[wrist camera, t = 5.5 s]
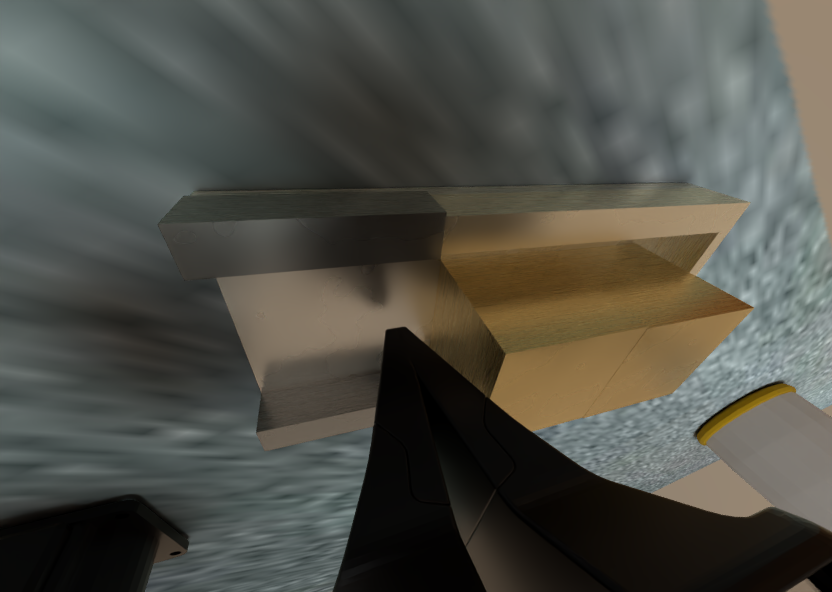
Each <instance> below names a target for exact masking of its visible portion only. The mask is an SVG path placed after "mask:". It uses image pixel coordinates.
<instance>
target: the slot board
mask: <svg viewBox="0 0 832 592" xmlns="http://www.w3.org/2000/svg"><path fill="white" fill-rule="evenodd" d="M749 204H750V202H747V201H744V200H741V199H738V198H734V197H731V196H728V195H725V194H722V193H718V192H715V191H712V190H709V189H706V188H702V187H699V186H696V185H693V184H690V183H649V184H592V185H534V186H477V187H419V188H362V189H304V190H247V191H193V193H192V194H191V195H190V196H183V197H182V198H181V199H180V200H179V201H178V203H177V204H176V205H175V206H174V207H173V208H172V209H171V210H170V211H169V212H168V213H167V214H166V215H165V217H164V218H163V219H162V220H161V221H160V222H159V223H158V227H159V229H160V231H161V233H162V235H163V237H164V239H165V241H166V243H167V246H168V248H169V250H170V252H171V254H172V256H173V258H174V260H175V262H176V265H177V267H178V269H179V271H180V273H181V275H182V277H183V279H184V281H185V280H197V279H209V278H216V279H217V281H218V284H219V287H220V289H221V292H222V294H223V297H224V299H225V302H226V304H227V307H228V309H229V312H230V314H231V317H232V320H233V322H234V325H235V327H236V330H237V332H238V335H239V337H240V340H241V342H242V345H243V348H244V350H245V353H246V355H247V358H248V360H249V363H250V365H251V368H252V370H253V373H254V375H255V378H256V381H257V383H258V386H259V388H260V391H261V400H260V408H259V415H258V422H257V430H256V434H257V436H258V438H259V440H260V442H261V444H262V446H263V448H264V451H268V450H273V449H277V448H281V447H286V446H290V445H294V444H299V443H303V442H307V441H312V440H316V439H320V438H325V437H329V436H334V435H338V434H342V433H347V432H351V431H355V430H360V429H364V428H368V427H373V426H374V419H375V411H376V403H377V394H378V386H379V378H380V370H381V362H382V354H383V346H384V338H385V331H386V329H391V328H397V327H407V328H408V329H409V330H410V331H411V332H413V333H414V334H415V335H416V336H417V337H418V338H419V339H421V340H422V341H423V342H424V343H425V344H426V345H428V346H430V339H431V331H432V324H433V316H434V308H435V301H436V293H437V286H438V278H439V271H440V263H441V260H447V259H458V258H469V257H479V256H490V255H501V254H512V253H523V252H534V251H545V250H549V251H559V250H570V249H581V248H591V247H602V246H612V245H623V244H633V243H636V244H638V245H640V246H642V247H643V248H645V249H647V250H649V251H651V252H653V253H655V254H656V255H658V256H660V257H662V258H664V259H666V260H667V261H669V262H671V263H673V264H675V265H677V266H678V267H680V268H682V269H684V270H686V271H688V272H689V273H691V274H693V275H695V276H696V275H697V274H698V272H699V271H700V270H701V268H702V267H703V266H704V264H705V263H706V262H707V260H708V259H709V258H710V256H711V255H712V254H713V252H714V251H715V250H716V248H717V247H718V246H719V244H720V243H721V242H722V240H723V239H724V238H725V236H726V235H727V234H728V232H729V231H730V230H731V228H732V227H733V226H734V224H735V223H736V222H737V220H738V219H739V218H740V216H741V215H742V214H743V212H744V211H745V210H746V208H747V207H748V206H749Z"/></svg>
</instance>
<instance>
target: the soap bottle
mask: <svg viewBox="0 0 832 592" xmlns="http://www.w3.org/2000/svg"><path fill="white" fill-rule="evenodd" d="M795 392H796V389H795V388H794V387H792V386H790V385H787V384H783V383H781V384H776V385H772V386H769V387H765V388H762V389H760V390H758V391H756V392H754V393H752V394H749V395H747V396H746V397H744V398H742V399H740V400H739V401H737V402H735V403H733V404H732V405H730V406H729V407H727V408H726V409H724V410H723V411H721V412H720V413H718V414H717V415H715V416H714V417H713V418H712V419H711V420H709V421H708V422H707V423H706V424H705V425H704V426H703V427H702V428H701V430H700V431H699V433H698V434H697V439H698V441H699V443H700V444H702V445H707V446H708V447H709V448H710V449H711V450H712V451H713V452H714V453H715V454H716V455H717V456H719V457H720V458H721V459H722V460H723V461H724V462H725V463H726V464H727V465H728V466H729V467H730V468H731V469H732V470H733V471H734V472H736V473H737V474H738V475H739V476H740V477H741V478H742V479H744V480H745V481H746V482H747V483H748V484H749V485H751V486H752V487H753V488H754V489H755V490H757V492H759V493H760V494H761V495H762V496H763V497H764V498H765V499H767V500H768V501H769V502H770V503H771V504H772V505H774V506H775V507H776V508H779V509H781V510H784V511H786V512H789V513H792V514H794V515H797V516H800V517H802V518H805V519H807V520H810V521H812V522H814V523H816V524H818V525H820V526H822V527H824V528H826V529H828V530H830V531H831V532H832V417H831V416H829V415H828V414H826V413H824V412H823V411H822V410H820V409H819V408H817V407H816V406H814V405H813V404H811V403H810V402H808V401H807V400H805V399H804V398H802V397H801V396H799V395H798V394H796V393H795Z"/></svg>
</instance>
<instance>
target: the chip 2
mask: <svg viewBox="0 0 832 592" xmlns="http://www.w3.org/2000/svg"><path fill="white" fill-rule="evenodd" d="M550 252H552V253H553V254H554V255H555V256H557V257H558V258H559V259H561V260H562V261H563V262H565V263H566V264H567V265H569V266H570V267H571V268H572V269H574V270H575V271H576V272H578V273H579V274H580V275H582V276H583V277H584V278H585V279H587V280H588V281H589V282H591V283H592V284H593V285H595V286H596V287H597V288H599V289H600V290H601V291H602V292H604V293H605V294H606V295H608V296H609V297H610V298H612V299H613V300H614V301H616V302H617V303H618V304H619V305H621V306H622V307H623V308H625V309H626V310H627V311H629V312H630V313H631V314H633V315H634V316H635V317H636V318H638V319H639V320H640V321H642V322H643V323H644V324H646V325H647V326H648V328H647V329H646V331H645V332H644V334H643V335H642V336H641V338H640V339H639V341H638V342H637V343H636V345H635V346H634V348H633V349H632V350H631V352H630V353H629V355H628V356H627V357H626V359H625V360H624V361H623V363H622V364H621V366H620V367H619V368H618V370H617V371H616V373H615V374H614V375H613V377H612V378H611V380H610V381H609V382H608V384H607V385H606V387H605V388H604V389H603V391H602V392H601V393H600V395H599V396H598V398H597V399H596V400H595V402H594V403H593V405H592V406H591V407H590V409H589V410H588V412H587V413H586V414H585V416H584V417H582V418H585V417H589V416H593V415H596V414H600V413H603V412H607V411H611V410H614V409H618V408H621V407H625V406H628V405H632V404H636V403H639V402H643V401H646V400H650V399H654V398H657V397H661V396H664V395H668V394H672V393H673V392H674V391H675V390H676V389H677V388H678V387H679V386H680V385H681V384H682V383H683V382H684V381H685V380H686V379H687V378H688V376H689V375H690V374H691V373H692V372H693V371H694V370H695V369H696V368H697V367H698V366H699V365H700V364H701V363H702V362H703V361H704V360H705V359H706V358H707V357H708V356H709V355H710V354H711V352H712V351H713V350H714V349H715V348H716V347H717V346H718V345H719V344H720V343H721V342H722V341H723V340H724V339H725V338H726V337H727V336H728V335H729V334H730V333H731V332H732V331H733V329H734V328H735V327H736V326H737V325H738V324H739V323H740V322H741V321H742V320H743V319H744V318H745V317H746V316H747V315H748V314H749V313H750V312H751V311H752V310H753V309H754V307H752V306H750V305H748V304H747V303H745V302H743V301H741V300H739V299H737V298H735V297H734V296H732V295H730V294H728V293H726V292H724V291H723V290H721V289H719V288H717V287H715V286H713V285H712V284H710V283H708V282H706V281H704V280H702V279H701V278H699V277H697V276H695V275H693V274H691V273H689V272H688V271H686V270H684V269H682V268H680V267H678V266H677V265H675V264H673V263H671V262H669V261H667V260H666V259H664V258H662V257H660V256H658V255H656V254H655V253H653V252H651V251H649V250H647V249H645V248H643V247H642V246H640V245H638V244H636V243H633V244H623V245H612V246H602V247H591V248H581V249H570V250H559V251H550Z"/></svg>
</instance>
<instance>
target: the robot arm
mask: <svg viewBox="0 0 832 592" xmlns="http://www.w3.org/2000/svg"><path fill="white" fill-rule="evenodd" d="M485 397H486V396H485V394H484V393H482V392H481V391H480V390H479V389H478V388H477V387H475V386H474V385H473V384H472V383H471V382H470V381H468V380H467V379H466V378H465V377H464V376H463V375H461V374H460V373H459V372H458V371H457V370H456V369H454V368H453V367H452V366H451V365H450V364H449V363H447V362H446V361H445V360H444V359H443V358H442V357H440V356H439V355H438V354H437V353H436V352H435V351H433V350H432V349H431V348H430V347H429V346H428V345H426V344H425V343H424V342H423V341H422V340H421V339H419V338H418V337H417V336H416V335H415V334H414V333H413V332H411V331H410V330H409V329H408V328H407V327H397V328H391V329H386V331H385V338H384V346H383V354H382V362H381V370H380V378H379V386H378V394H377V403H376V411H375V419H374V426H373V434H372V441H371V447H370V454H369V460H368V464H367V468H366V473H365V477H364V481H363V485H362V489H361V493H360V497H359V501H358V504H357V508H356V512H355V516H354V520H353V523H352V527H351V531H350V535H349V539H348V542H347V546H346V550H345V553H344V557H343V560H342V564H341V567H340V570H339V574H338V577H337V580H336V583H335V586H334V589H333V592H832V532H831V531H830V530H828V529H826V528H824V527H822V526H820V525H818V524H816V523H814V522H812V521H810V520H807V519H805V518H802V517H800V516H797V515H794V514H792V513H789V512H786V511H784V510H781V509H779V508H776V507H768V508H766V509H763V510H762V511H759V512H758V513H755V514H753V515H751V516H749V517H732V516H726V515H721V514H717V513H713V512H709V511H705V510H702V509H699V508H696V507H693V506H690V505H686V504H683V503H680V502H677V501H674V500H670V499H667V498H664V497H661V496H658V495H654V494H651V493H648V492H645V491H642V490H638V489H635V488H632V487H629V486H625V485H622V484H619V483H616V482H613V481H610V480H607V479H605V478H602V477H600V476H598V475H596V474H594V473H592V472H590V471H588V470H586V469H585V468H583V467H581V466H580V465H578V464H577V463H575V462H574V461H572V460H571V459H570V458H568V457H567V456H565V455H564V454H562V453H561V452H560V451H558V450H557V449H555V448H554V447H553V446H551V445H550V444H548V443H547V442H545V441H544V440H543V439H541V438H540V437H538V436H537V435H536V434H534V433H533V432H531V431H530V430H529V429H527V428H526V427H525V426H523V425H522V424H521V423H519V422H518V421H516V420H515V419H514V418H512V417H511V416H510V415H509V414H508V413H506V412H505V411H504V410H503V409H501V408H500V407H499V406H498V405H497V404H495V403H494V402H493V401H492V400H491V399H490V398H488V397H486V398H485ZM188 546H189V541H188V540H187V539H185V538H184V537H183V536H182V535H180V534H179V533H178V532H177V531H175V530H174V529H173V528H172V527H171V526H169V525H168V524H167V523H166V522H164V521H163V520H162V519H161V518H159V517H158V516H157V515H156V514H154V513H153V512H152V511H151V510H149V509H148V508H147V507H146V506H144V505H143V504H142V503H141V502H139V501H136V500H124V501H119V502H114V503H110V504H106V505H102V506H98V507H94V508H90V509H86V510H81V511H77V512H73V513H69V514H65V515H61V516H57V517H53V518H48V519H44V520H40V521H36V522H32V523H28V524H24V525H19V526H15V527H11V528H7V529H3V530H0V592H145V589H146V586H147V583H148V579H149V576H150V573H151V570H152V566H153V564H154V563H157V562H161V561H164V560H168V559H171V558H174V557H178V556H181V555H183V554H185V553H186V552H187V550H188Z"/></svg>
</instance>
